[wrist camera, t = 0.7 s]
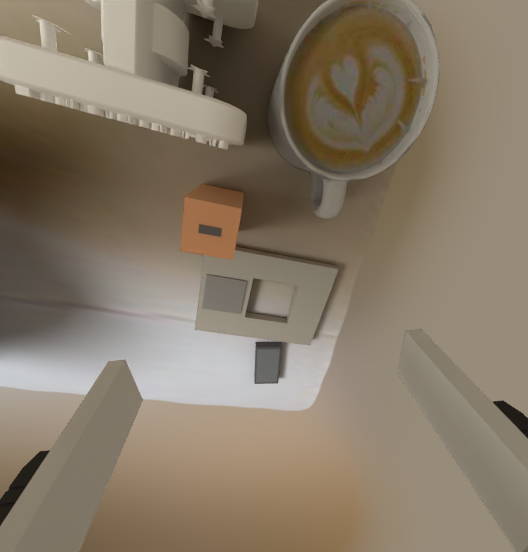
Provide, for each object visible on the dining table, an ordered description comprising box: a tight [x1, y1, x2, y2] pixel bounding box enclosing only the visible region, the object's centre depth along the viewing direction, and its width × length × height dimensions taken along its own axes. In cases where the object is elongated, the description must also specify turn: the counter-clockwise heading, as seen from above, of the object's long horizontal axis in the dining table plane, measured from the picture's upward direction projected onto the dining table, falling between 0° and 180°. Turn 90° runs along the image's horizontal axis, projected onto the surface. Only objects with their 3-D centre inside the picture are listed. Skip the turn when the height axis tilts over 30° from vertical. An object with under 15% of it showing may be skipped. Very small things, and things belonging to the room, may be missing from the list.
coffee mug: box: [268, 0, 439, 219], centre depth 21 cm, size 13×10×10 cm
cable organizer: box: [0, 0, 259, 150], centre depth 17 cm, size 15×11×12 cm
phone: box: [255, 342, 281, 384], centre depth 38 cm, size 4×7×1 cm, turn 178°
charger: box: [180, 184, 244, 260], centre depth 24 cm, size 4×4×9 cm
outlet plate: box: [195, 247, 339, 345], centre depth 33 cm, size 16×12×1 cm
